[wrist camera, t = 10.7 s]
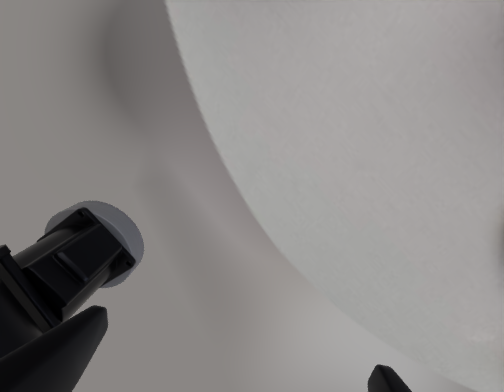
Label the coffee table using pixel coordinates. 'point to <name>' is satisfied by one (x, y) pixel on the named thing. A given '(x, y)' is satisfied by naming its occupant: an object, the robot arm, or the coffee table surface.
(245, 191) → the coffee table surface
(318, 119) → the coffee table surface
